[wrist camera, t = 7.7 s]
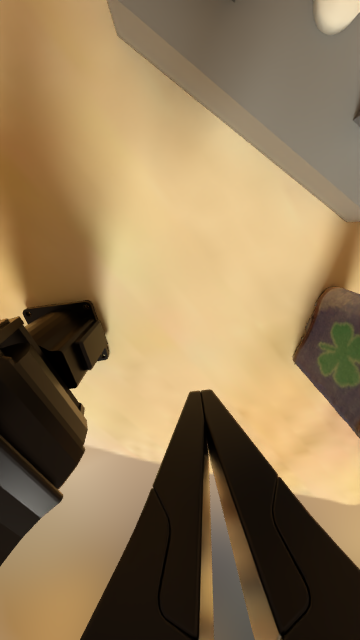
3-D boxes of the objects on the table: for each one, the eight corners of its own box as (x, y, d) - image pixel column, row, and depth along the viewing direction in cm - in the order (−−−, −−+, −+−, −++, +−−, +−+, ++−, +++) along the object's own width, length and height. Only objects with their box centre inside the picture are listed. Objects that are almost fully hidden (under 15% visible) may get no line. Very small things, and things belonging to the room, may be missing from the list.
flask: (322, 284, 18) (494, 346, 8) (352, 287, 18) (552, 353, 9) (287, 364, 22) (377, 471, 12) (312, 366, 22) (419, 473, 12)
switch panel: (117, 35, 12) (82, -80, 7) (185, -199, 9) (194, -612, 4) (346, 222, 16) (409, 218, 12) (441, 106, 13) (569, 46, 9)
